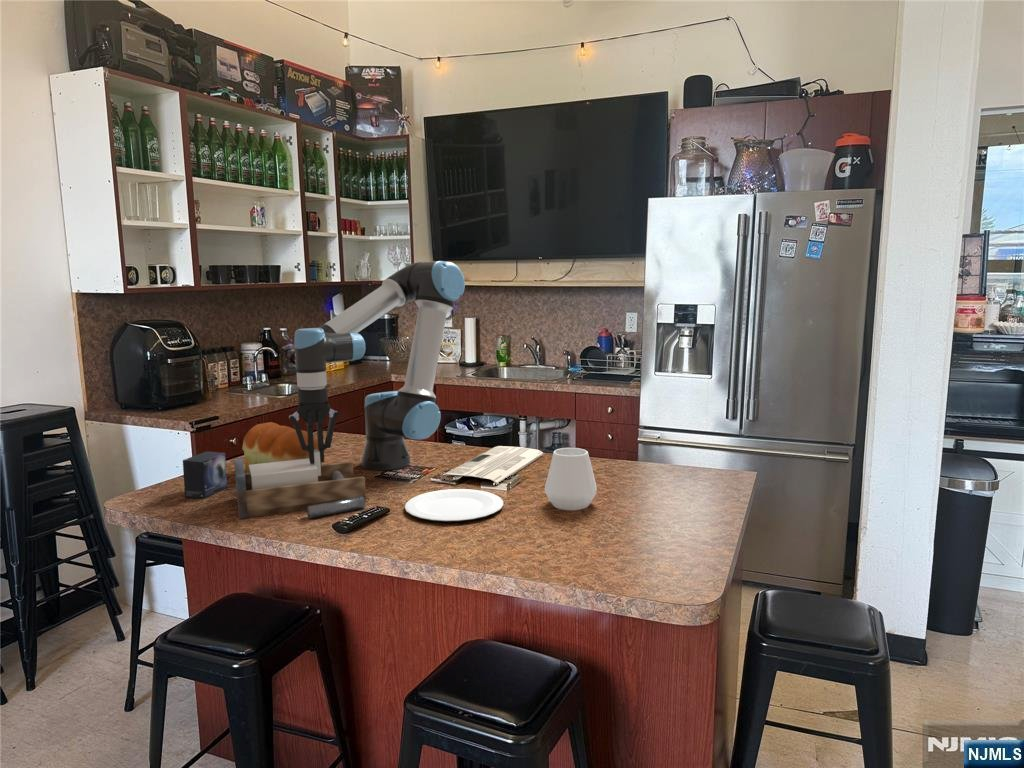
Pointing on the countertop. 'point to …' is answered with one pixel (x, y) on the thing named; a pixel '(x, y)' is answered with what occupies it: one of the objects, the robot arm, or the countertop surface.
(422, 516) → the plate
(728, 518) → the countertop surface
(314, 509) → the roller
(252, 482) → the slab
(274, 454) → the bread
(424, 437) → the robot arm
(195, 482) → the small box
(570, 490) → the cup
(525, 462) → the newspaper
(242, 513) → the roller bed
